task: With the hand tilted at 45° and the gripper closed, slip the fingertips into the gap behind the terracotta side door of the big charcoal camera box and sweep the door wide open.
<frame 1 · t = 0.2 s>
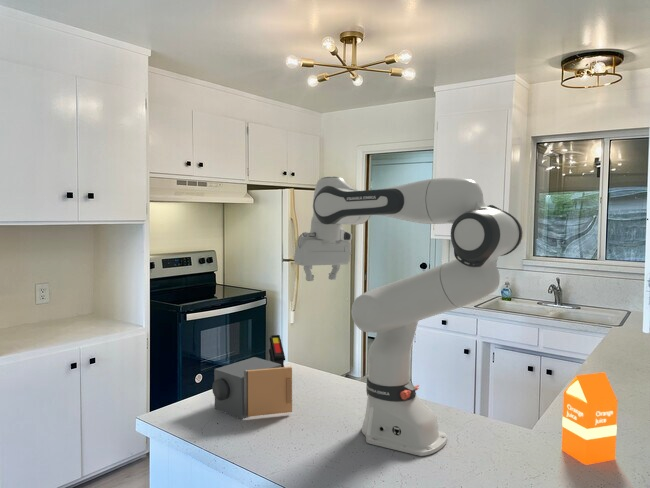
hand: (321, 280, 145), 39 cm above the counter, tool pointing down, fingers open, 8 cm apart
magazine: (276, 380, 173), on the counter
orange juice: (587, 455, 120), on the counter
side door: (268, 391, 141), point 8 cm above the counter, hinge at 35.0°
camera box: (248, 405, 150), on the counter
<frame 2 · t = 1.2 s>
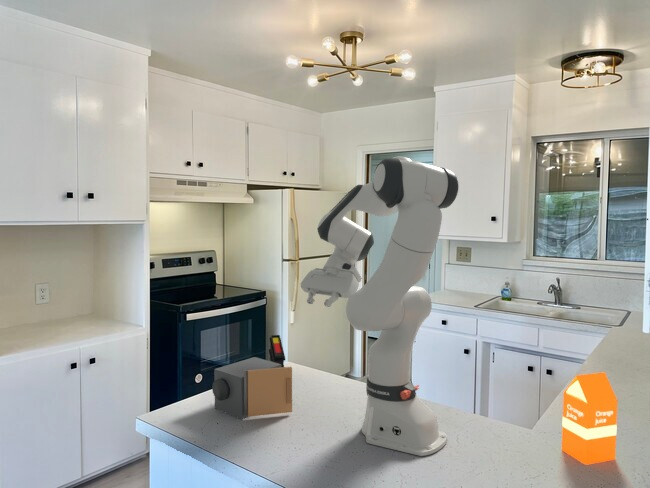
hand: (317, 304, 156), 30 cm above the counter, tool tilted 45°, fingers open, 6 cm apart
nothing on the counter moved.
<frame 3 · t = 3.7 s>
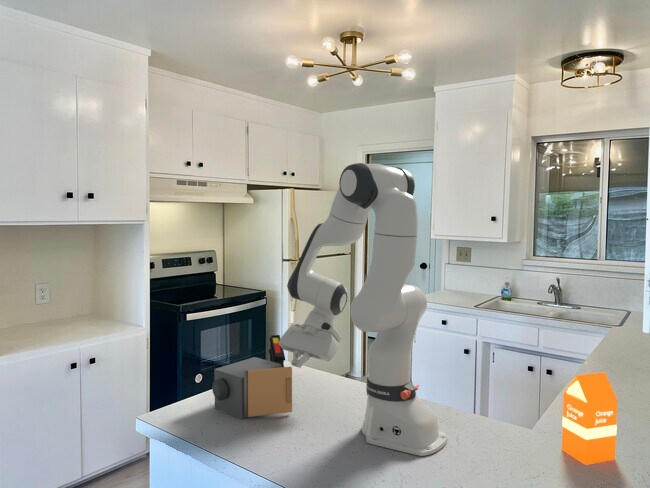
hand: (295, 366, 150), 12 cm above the counter, tool tilted 45°, fingers closed
nothing on the counter moved.
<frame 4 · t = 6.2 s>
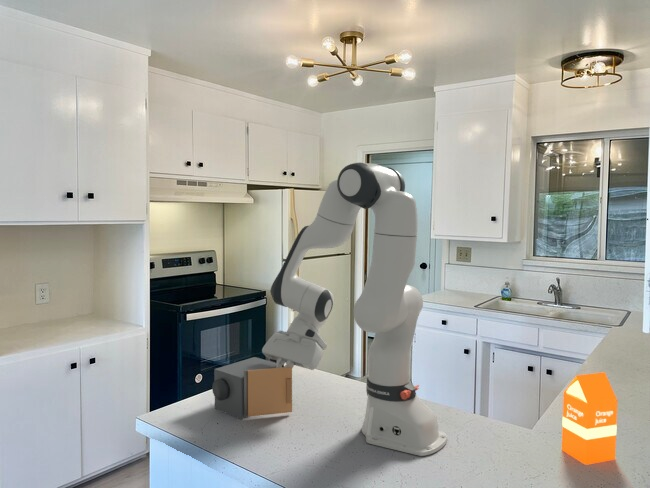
hand: (278, 374, 144), 11 cm above the counter, tool tilted 45°, fingers closed
side door: (268, 391, 141), point 8 cm above the counter, hinge at 35.0°, touching gripper
everything else where it was.
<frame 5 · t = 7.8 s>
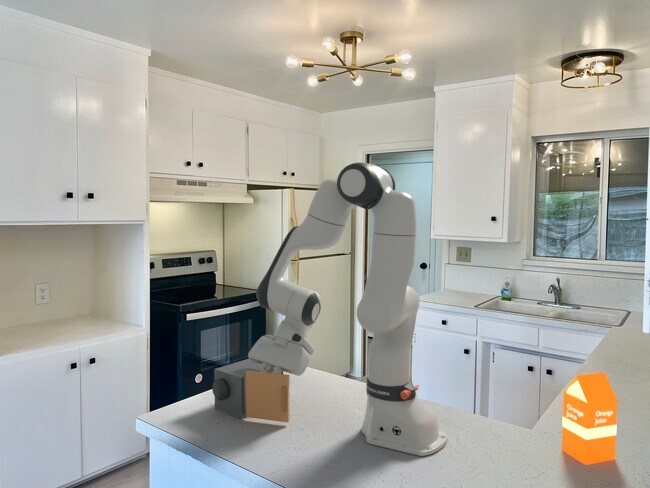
hand: (264, 380, 140), 11 cm above the counter, tool tilted 45°, fingers closed
side door: (265, 396, 138), point 7 cm above the counter, hinge at 67.0°, touching gripper
everything else where it was.
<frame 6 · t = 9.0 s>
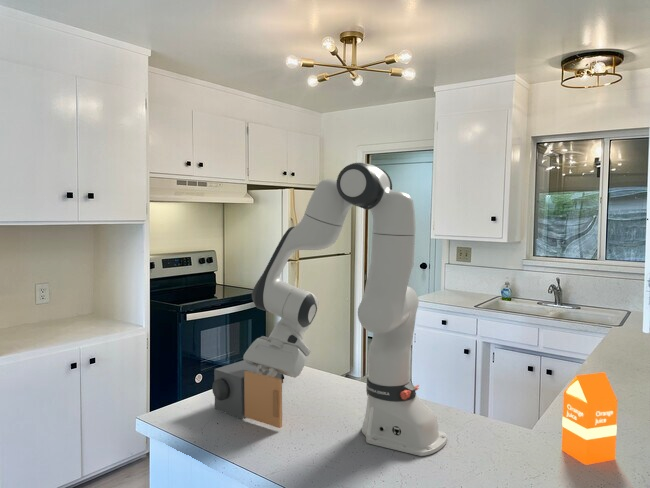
hand: (259, 382, 138), 11 cm above the counter, tool tilted 45°, fingers closed
side door: (261, 398, 136), point 8 cm above the counter, hinge at 84.5°, touching gripper
everything else where it was.
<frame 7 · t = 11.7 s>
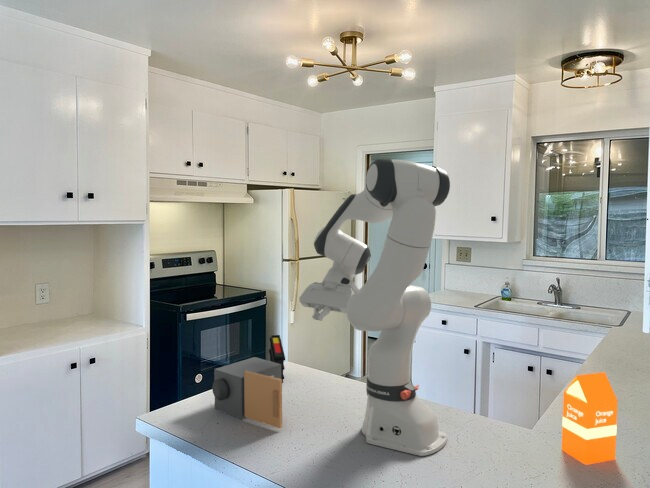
hand: (316, 319, 156), 25 cm above the counter, tool tilted 45°, fingers closed
side door: (261, 398, 136), point 7 cm above the counter, hinge at 84.6°
everything else where it was.
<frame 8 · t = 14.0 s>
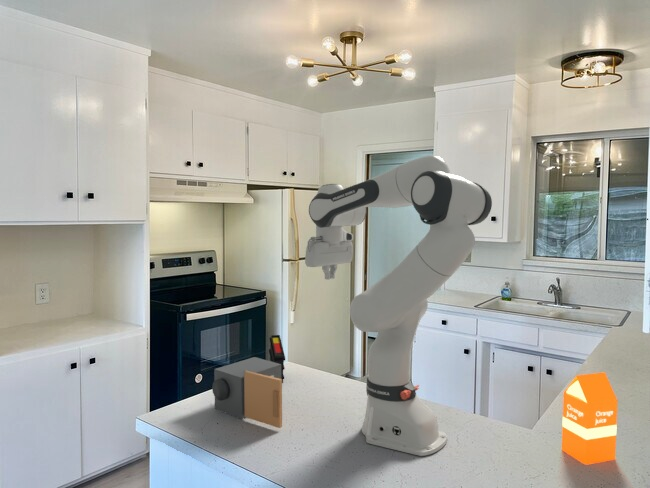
hand: (329, 279, 159), 37 cm above the counter, tool pointing down, fingers closed
nothing on the counter moved.
at the end: side door at +85° (first picture: +35°); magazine moved 0.3 cm from its start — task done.
